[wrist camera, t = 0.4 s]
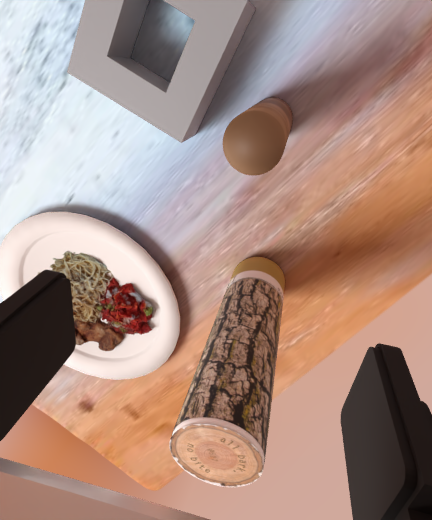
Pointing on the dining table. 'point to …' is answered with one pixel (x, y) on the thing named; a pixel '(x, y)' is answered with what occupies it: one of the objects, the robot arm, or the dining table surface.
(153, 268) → the plated food
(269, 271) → the paper tube
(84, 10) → the socket
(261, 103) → the peg
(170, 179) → the dining table surface
